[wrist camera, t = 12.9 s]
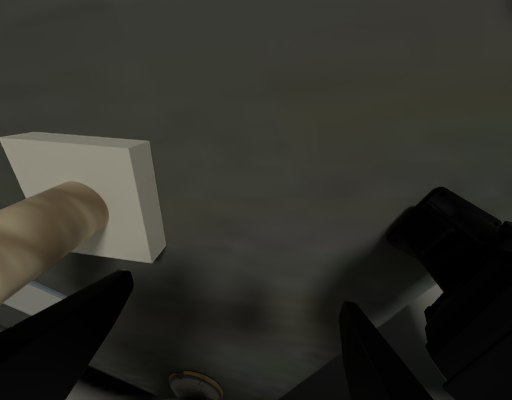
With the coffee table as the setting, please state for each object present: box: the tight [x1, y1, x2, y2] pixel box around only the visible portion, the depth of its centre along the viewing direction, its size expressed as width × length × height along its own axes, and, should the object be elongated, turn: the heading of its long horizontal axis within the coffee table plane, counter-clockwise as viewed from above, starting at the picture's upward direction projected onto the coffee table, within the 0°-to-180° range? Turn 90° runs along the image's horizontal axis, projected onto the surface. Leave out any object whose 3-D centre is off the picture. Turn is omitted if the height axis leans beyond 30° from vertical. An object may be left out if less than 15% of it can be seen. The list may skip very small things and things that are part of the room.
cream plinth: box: [0, 132, 166, 263], centre depth 23 cm, size 12×12×3 cm
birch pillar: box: [0, 181, 109, 305], centre depth 16 cm, size 5×5×13 cm
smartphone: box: [3, 281, 67, 316], centre depth 35 cm, size 8×1×15 cm
